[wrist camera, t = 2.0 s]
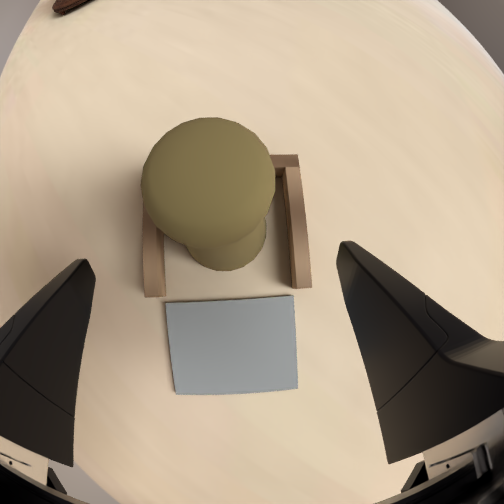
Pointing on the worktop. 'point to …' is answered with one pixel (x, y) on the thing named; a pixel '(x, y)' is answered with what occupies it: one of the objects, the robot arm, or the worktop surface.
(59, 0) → the brown figurine
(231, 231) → the cork
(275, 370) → the pad
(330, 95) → the worktop surface
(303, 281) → the u-shaped wooden frame
